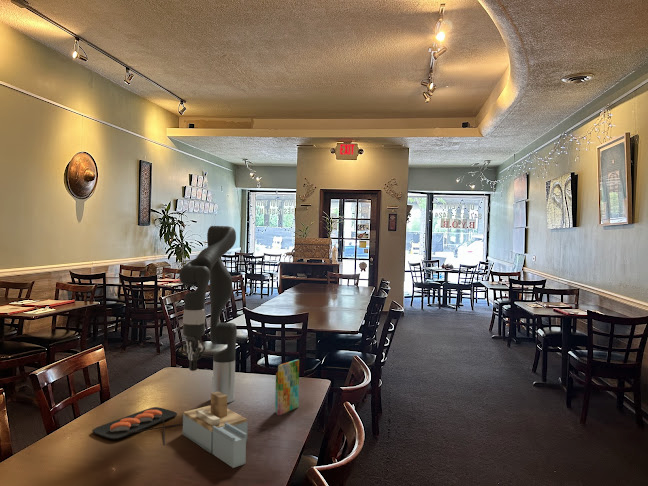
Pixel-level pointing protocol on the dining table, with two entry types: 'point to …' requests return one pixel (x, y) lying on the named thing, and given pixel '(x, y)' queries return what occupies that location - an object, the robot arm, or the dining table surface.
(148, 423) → the sushi plate
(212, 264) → the robot arm
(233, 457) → the toolbox
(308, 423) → the dining table surface
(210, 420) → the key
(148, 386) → the dining table surface
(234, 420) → the lid
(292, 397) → the puzzle game
